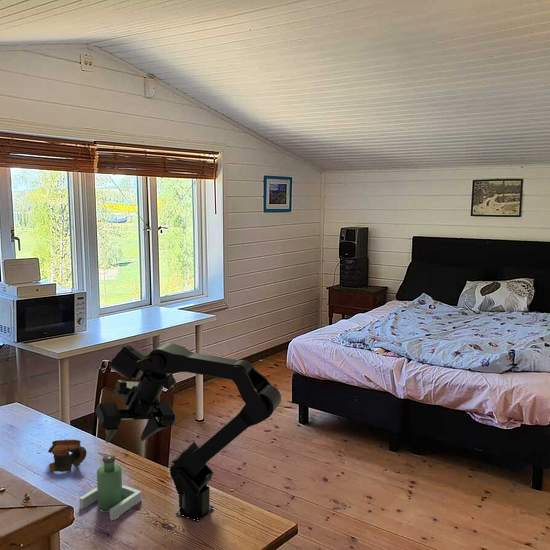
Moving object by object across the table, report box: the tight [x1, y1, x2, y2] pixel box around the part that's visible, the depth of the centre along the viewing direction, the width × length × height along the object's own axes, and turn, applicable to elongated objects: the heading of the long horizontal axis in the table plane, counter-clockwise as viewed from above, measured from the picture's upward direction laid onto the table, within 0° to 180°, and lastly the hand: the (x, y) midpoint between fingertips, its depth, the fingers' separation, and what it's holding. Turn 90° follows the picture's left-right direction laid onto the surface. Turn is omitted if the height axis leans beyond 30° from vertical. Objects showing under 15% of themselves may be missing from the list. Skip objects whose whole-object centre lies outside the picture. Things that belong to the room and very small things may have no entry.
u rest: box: [79, 484, 143, 521], centre depth 132 cm, size 10×10×2 cm
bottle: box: [96, 454, 123, 512], centre depth 131 cm, size 6×6×12 cm
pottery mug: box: [47, 439, 88, 473], centre depth 151 cm, size 12×10×8 cm
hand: (124, 440), depth 135 cm, fingers open, 9 cm apart
